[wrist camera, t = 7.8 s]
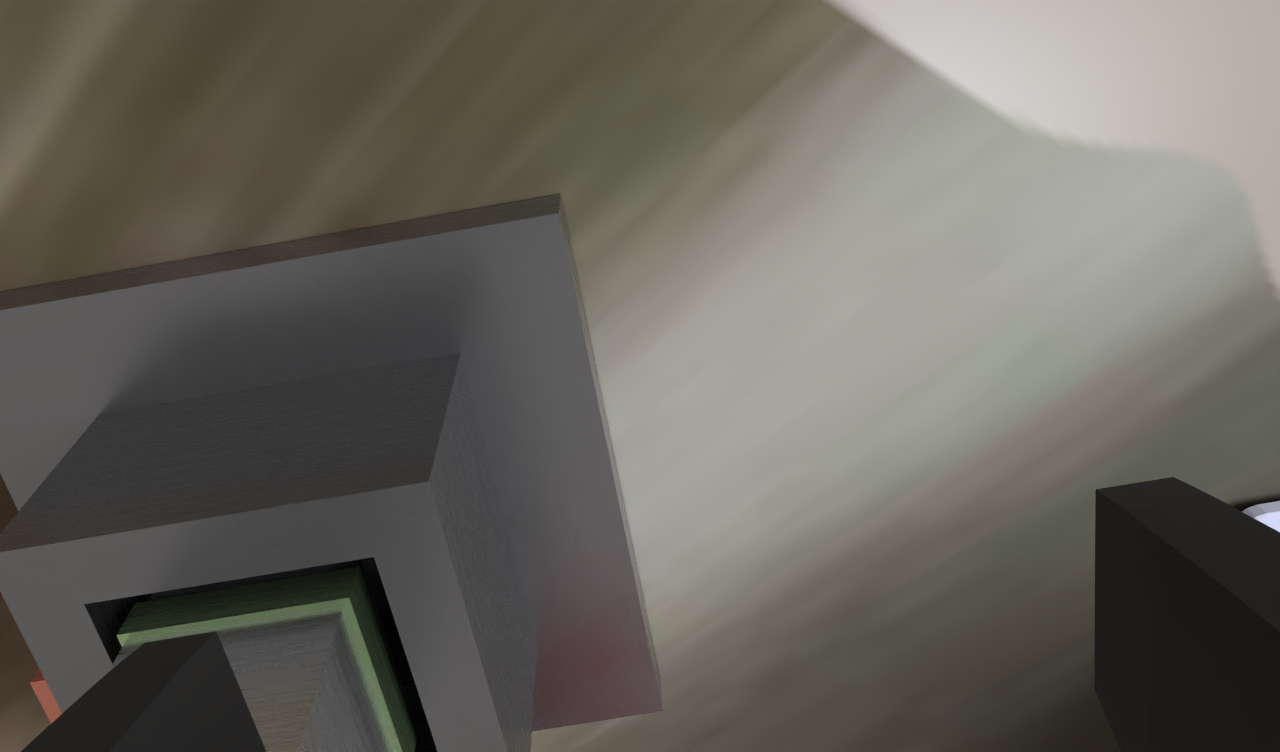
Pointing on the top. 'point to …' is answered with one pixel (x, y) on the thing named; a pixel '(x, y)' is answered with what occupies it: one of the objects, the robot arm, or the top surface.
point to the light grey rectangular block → (295, 655)
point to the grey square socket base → (336, 461)
